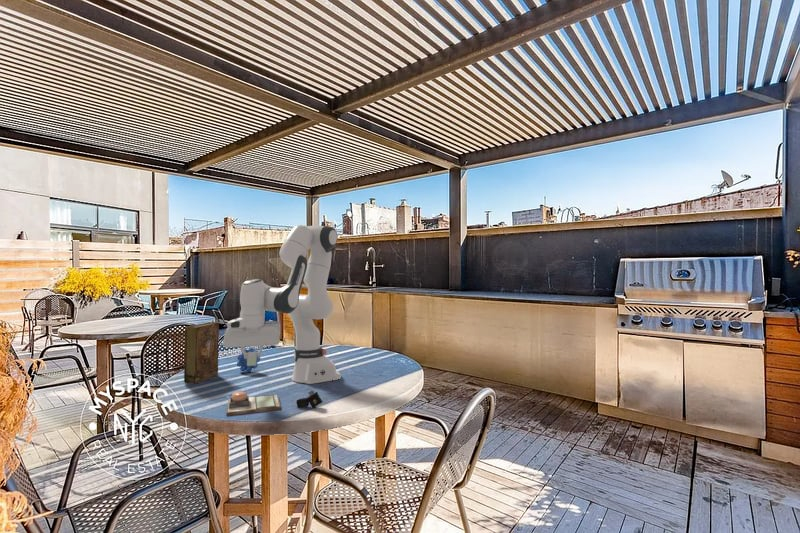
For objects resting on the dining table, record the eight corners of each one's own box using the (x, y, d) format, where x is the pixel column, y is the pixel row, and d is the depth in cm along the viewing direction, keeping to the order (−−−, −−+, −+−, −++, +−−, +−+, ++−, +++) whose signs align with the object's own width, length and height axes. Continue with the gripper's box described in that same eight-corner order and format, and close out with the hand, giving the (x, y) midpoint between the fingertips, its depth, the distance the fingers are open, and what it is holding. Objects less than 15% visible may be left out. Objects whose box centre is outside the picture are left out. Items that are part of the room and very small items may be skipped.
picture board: (277, 396, 153) (277, 389, 154) (280, 409, 140) (280, 401, 140) (228, 402, 147) (228, 394, 147) (226, 415, 133) (226, 407, 133)
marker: (256, 359, 152) (256, 351, 152) (256, 365, 143) (256, 356, 143) (247, 359, 151) (247, 351, 151) (247, 366, 142) (247, 357, 142)
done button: (246, 397, 145) (246, 390, 145) (246, 401, 140) (246, 395, 140) (232, 398, 143) (232, 392, 143) (231, 403, 138) (231, 396, 138)
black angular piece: (301, 415, 141) (293, 402, 141) (303, 413, 143) (295, 400, 144) (321, 403, 141) (313, 390, 141) (322, 401, 143) (314, 388, 143)
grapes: (263, 370, 193) (263, 346, 194) (257, 373, 187) (258, 348, 187) (240, 369, 194) (241, 345, 194) (234, 373, 187) (234, 348, 187)
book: (209, 374, 185) (210, 322, 185) (219, 374, 184) (220, 322, 184) (184, 383, 169) (184, 326, 169) (194, 384, 168) (195, 327, 168)
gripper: (280, 319, 155) (279, 353, 155) (224, 321, 147) (223, 357, 147) (281, 321, 149) (280, 357, 149) (222, 323, 142) (222, 361, 142)
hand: (252, 357), depth 148 cm, fingers closed on marker, 3 cm apart
